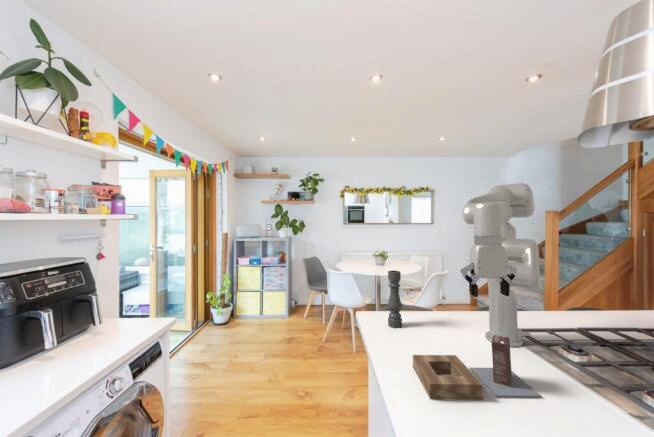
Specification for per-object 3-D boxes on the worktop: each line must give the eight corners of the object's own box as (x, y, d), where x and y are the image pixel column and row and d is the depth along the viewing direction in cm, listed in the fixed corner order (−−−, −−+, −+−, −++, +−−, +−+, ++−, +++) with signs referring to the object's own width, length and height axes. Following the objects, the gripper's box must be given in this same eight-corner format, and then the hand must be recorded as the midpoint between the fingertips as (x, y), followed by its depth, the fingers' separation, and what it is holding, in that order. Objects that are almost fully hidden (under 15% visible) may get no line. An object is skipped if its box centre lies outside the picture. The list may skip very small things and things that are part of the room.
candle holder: (394, 329, 119) (393, 273, 120) (385, 324, 125) (384, 271, 125) (404, 326, 122) (404, 272, 123) (395, 322, 128) (394, 270, 128)
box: (494, 373, 83) (493, 333, 83) (512, 378, 80) (511, 337, 80) (492, 382, 78) (491, 340, 78) (510, 387, 75) (509, 344, 75)
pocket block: (456, 367, 87) (455, 355, 87) (483, 399, 71) (482, 384, 71) (413, 367, 88) (412, 354, 88) (430, 399, 72) (429, 384, 72)
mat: (508, 369, 86) (508, 367, 86) (541, 398, 72) (541, 395, 72) (470, 369, 86) (470, 367, 86) (496, 397, 72) (496, 395, 72)
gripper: (507, 239, 88) (508, 291, 88) (454, 241, 88) (456, 292, 88) (524, 241, 80) (525, 298, 80) (466, 243, 80) (468, 300, 80)
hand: (489, 295), depth 84 cm, fingers open, 9 cm apart
